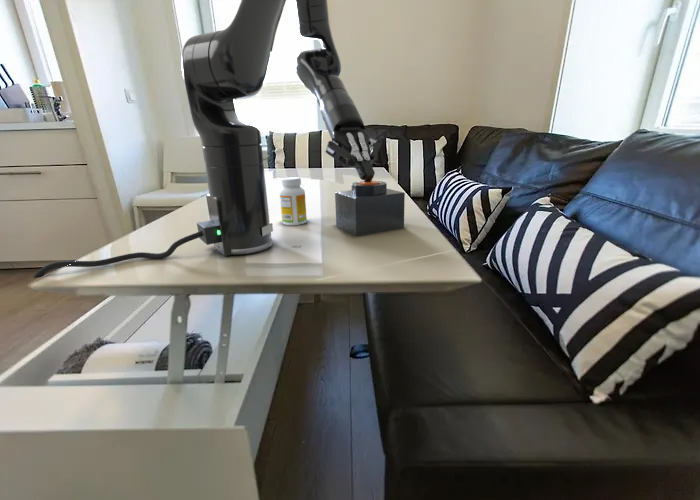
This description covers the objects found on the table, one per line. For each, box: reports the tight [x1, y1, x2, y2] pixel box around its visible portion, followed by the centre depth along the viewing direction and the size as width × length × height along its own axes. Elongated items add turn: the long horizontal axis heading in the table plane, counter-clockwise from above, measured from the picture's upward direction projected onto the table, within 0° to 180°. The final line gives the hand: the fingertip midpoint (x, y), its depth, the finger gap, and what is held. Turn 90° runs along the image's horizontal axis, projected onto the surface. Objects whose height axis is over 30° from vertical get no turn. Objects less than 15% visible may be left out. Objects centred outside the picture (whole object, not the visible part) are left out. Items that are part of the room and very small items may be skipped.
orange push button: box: [358, 180, 380, 185], centre depth 71 cm, size 4×4×2 cm
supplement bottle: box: [279, 176, 308, 226], centre depth 78 cm, size 5×5×10 cm
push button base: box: [334, 180, 406, 237], centre depth 72 cm, size 11×9×9 cm
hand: (369, 179), depth 71 cm, fingers closed
